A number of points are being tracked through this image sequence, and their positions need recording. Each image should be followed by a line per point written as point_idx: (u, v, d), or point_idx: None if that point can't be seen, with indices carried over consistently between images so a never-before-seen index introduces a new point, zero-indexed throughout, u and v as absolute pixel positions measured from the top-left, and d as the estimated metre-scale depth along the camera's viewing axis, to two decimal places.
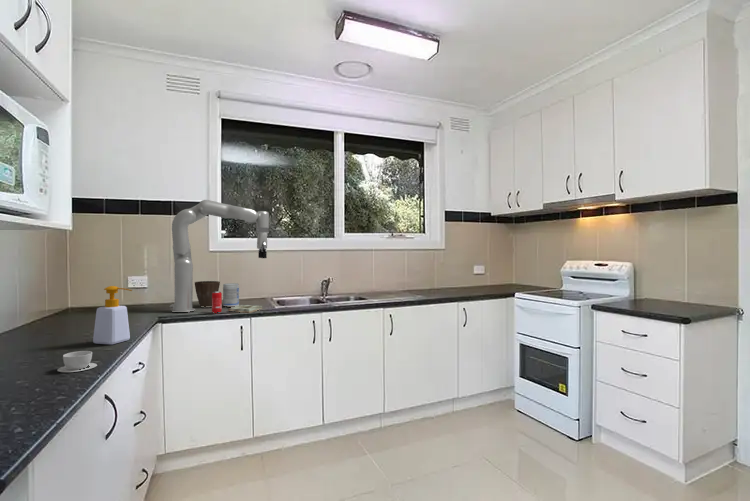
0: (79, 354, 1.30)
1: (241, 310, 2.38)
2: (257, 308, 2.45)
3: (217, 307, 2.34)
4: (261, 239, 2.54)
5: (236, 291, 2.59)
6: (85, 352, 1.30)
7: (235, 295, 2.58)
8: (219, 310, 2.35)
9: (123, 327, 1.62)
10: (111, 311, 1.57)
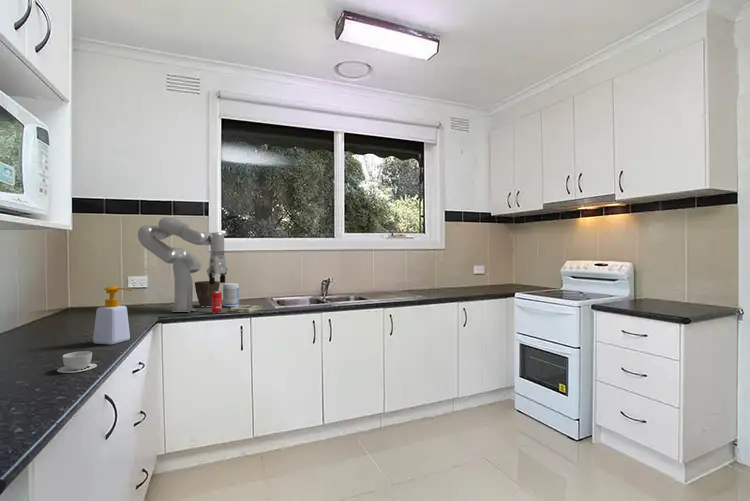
0: (79, 354, 1.29)
1: (241, 310, 2.38)
2: (257, 308, 2.45)
3: (217, 307, 2.34)
4: None
5: (236, 291, 2.59)
6: (85, 352, 1.30)
7: (235, 295, 2.58)
8: (219, 310, 2.35)
9: (123, 327, 1.62)
10: (111, 311, 1.57)
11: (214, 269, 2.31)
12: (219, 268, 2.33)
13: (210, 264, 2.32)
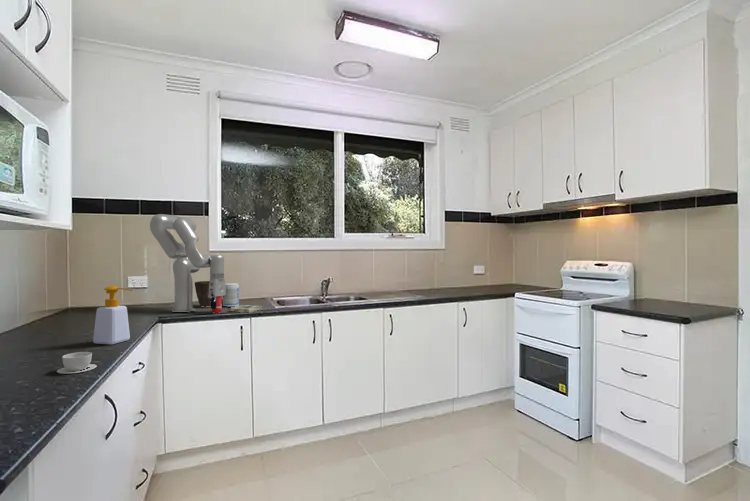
0: (79, 355, 1.28)
1: (241, 310, 2.38)
2: (257, 308, 2.45)
3: (217, 307, 2.34)
4: None
5: (236, 291, 2.59)
6: (84, 353, 1.29)
7: (235, 295, 2.58)
8: (219, 310, 2.35)
9: (123, 327, 1.62)
10: (111, 311, 1.57)
11: (214, 292, 2.31)
12: (219, 291, 2.34)
13: (210, 287, 2.32)
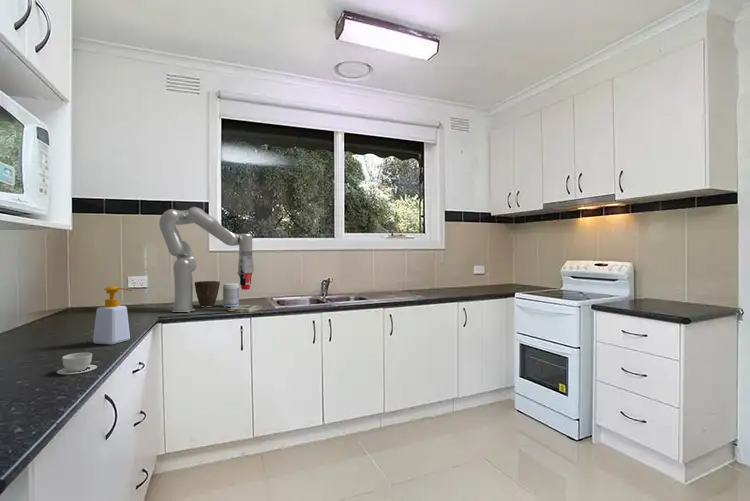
0: (79, 356, 1.28)
1: (241, 310, 2.38)
2: (257, 308, 2.45)
3: (246, 283, 2.43)
4: None
5: (236, 291, 2.59)
6: (84, 353, 1.28)
7: (235, 295, 2.58)
8: (248, 286, 2.43)
9: (123, 327, 1.62)
10: (111, 311, 1.57)
11: (243, 269, 2.40)
12: (248, 268, 2.42)
13: (239, 264, 2.40)
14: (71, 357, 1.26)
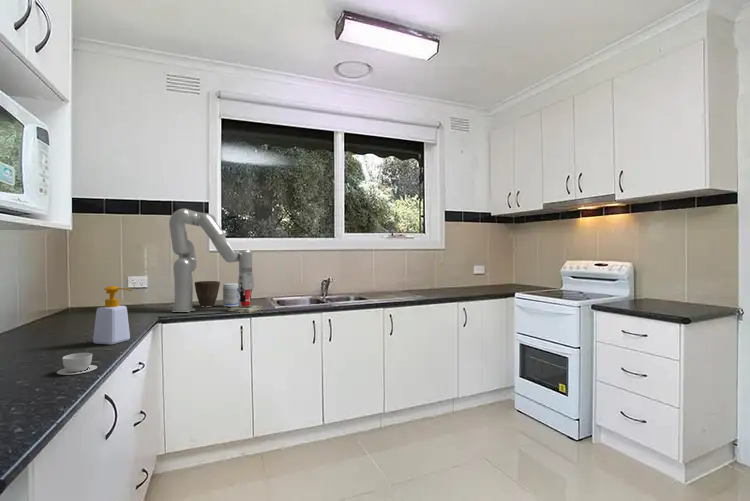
0: (79, 356, 1.27)
1: (241, 310, 2.38)
2: (257, 308, 2.45)
3: (246, 300, 2.43)
4: None
5: (236, 291, 2.59)
6: (84, 353, 1.28)
7: (235, 295, 2.58)
8: (248, 303, 2.43)
9: (123, 327, 1.62)
10: (111, 311, 1.57)
11: (243, 286, 2.40)
12: (247, 285, 2.42)
13: (239, 281, 2.40)
14: (71, 357, 1.26)
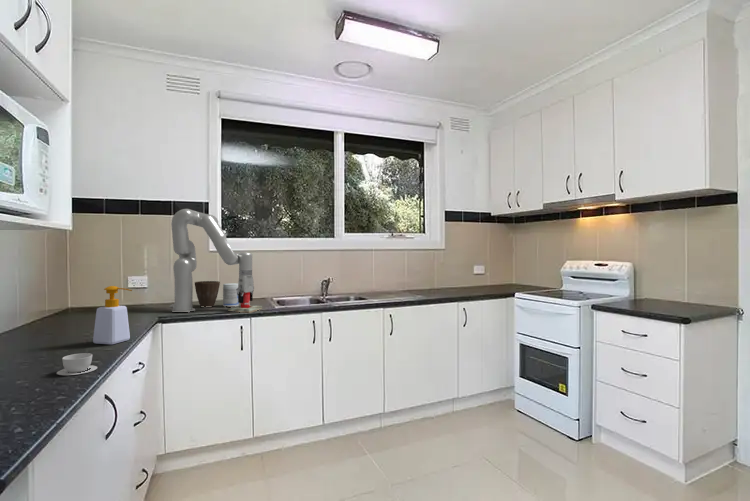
0: (78, 356, 1.27)
1: (241, 310, 2.38)
2: (257, 308, 2.45)
3: (246, 303, 2.43)
4: None
5: (236, 291, 2.59)
6: (84, 354, 1.27)
7: (235, 295, 2.58)
8: (247, 306, 2.43)
9: (123, 327, 1.62)
10: (111, 311, 1.57)
11: (243, 288, 2.40)
12: (247, 287, 2.42)
13: (239, 283, 2.40)
14: (71, 358, 1.25)
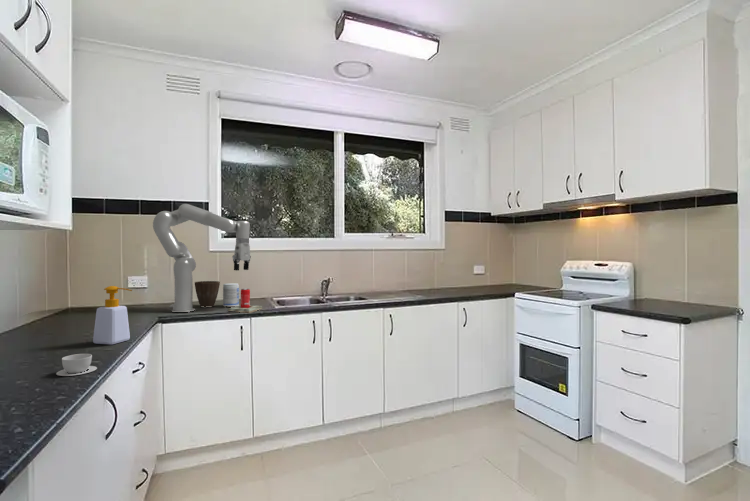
0: (78, 357, 1.26)
1: (241, 310, 2.38)
2: (257, 308, 2.45)
3: (246, 303, 2.43)
4: None
5: (236, 291, 2.59)
6: (84, 354, 1.27)
7: (235, 295, 2.58)
8: (247, 306, 2.43)
9: (123, 327, 1.62)
10: (111, 311, 1.57)
11: (239, 256, 2.40)
12: (244, 255, 2.43)
13: (235, 251, 2.41)
14: (70, 358, 1.25)
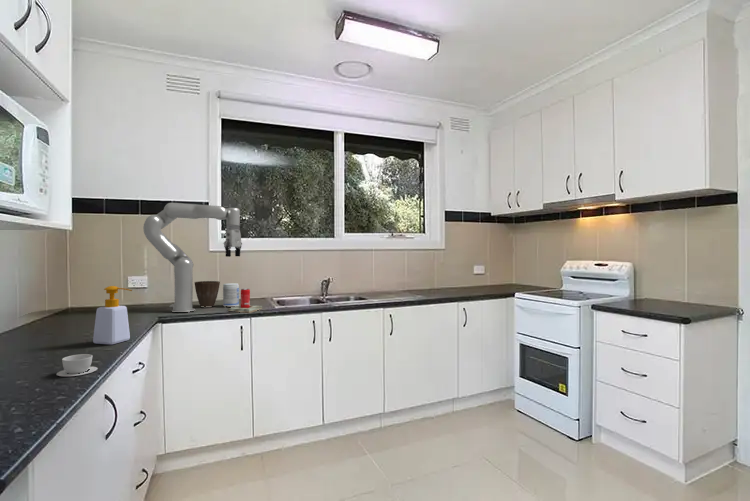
0: (78, 357, 1.26)
1: (241, 310, 2.38)
2: (257, 308, 2.45)
3: (246, 303, 2.43)
4: None
5: (236, 291, 2.59)
6: (84, 355, 1.26)
7: (235, 295, 2.58)
8: (247, 306, 2.43)
9: (123, 327, 1.62)
10: (111, 311, 1.57)
11: (230, 242, 2.44)
12: (235, 241, 2.47)
13: (226, 237, 2.45)
14: (71, 359, 1.24)
